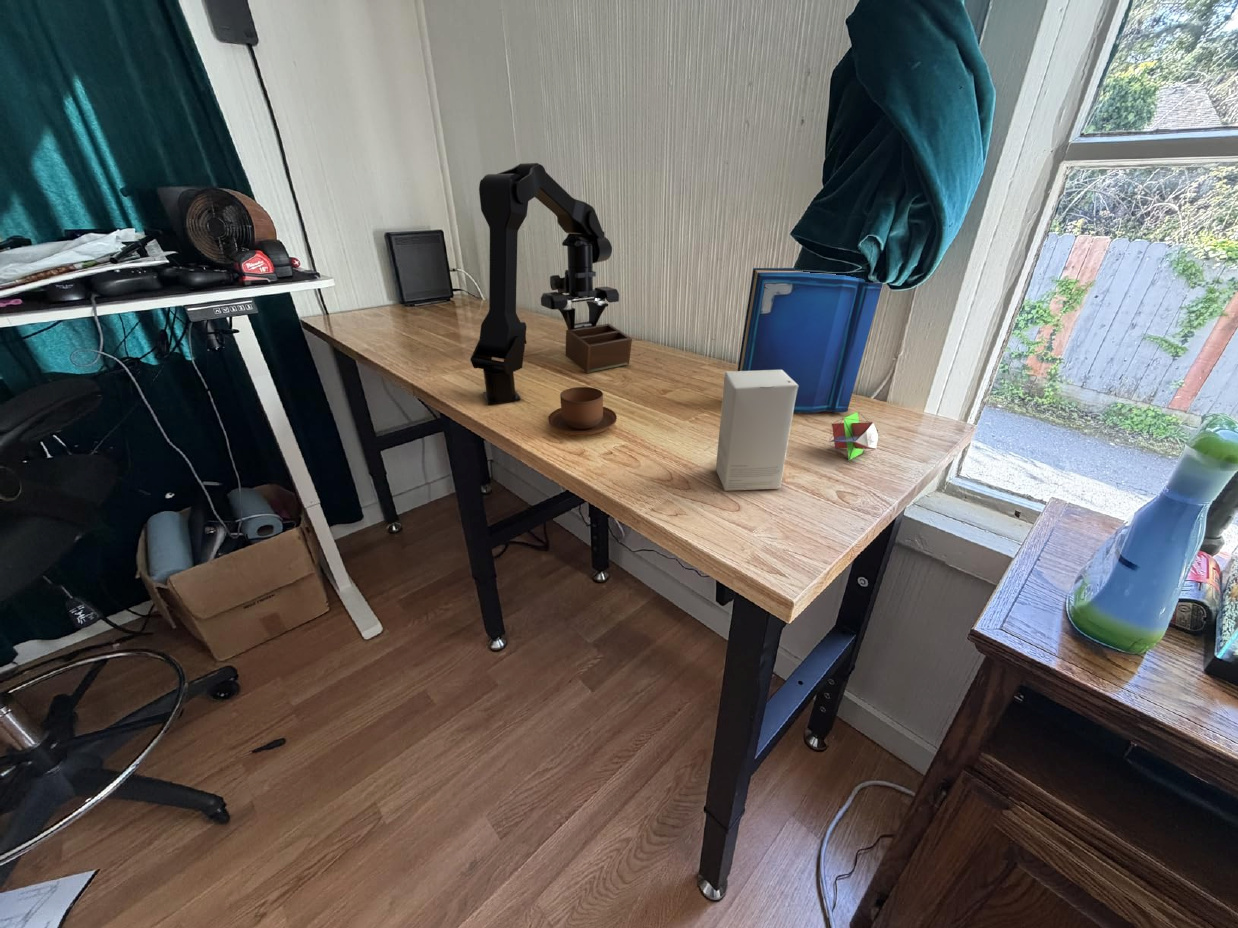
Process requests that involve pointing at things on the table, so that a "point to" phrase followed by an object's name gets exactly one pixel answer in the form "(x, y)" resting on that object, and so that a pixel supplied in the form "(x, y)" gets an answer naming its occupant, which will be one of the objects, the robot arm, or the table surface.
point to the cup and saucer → (582, 412)
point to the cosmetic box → (754, 428)
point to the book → (809, 332)
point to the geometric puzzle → (854, 435)
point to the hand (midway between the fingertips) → (581, 333)
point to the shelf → (597, 346)
